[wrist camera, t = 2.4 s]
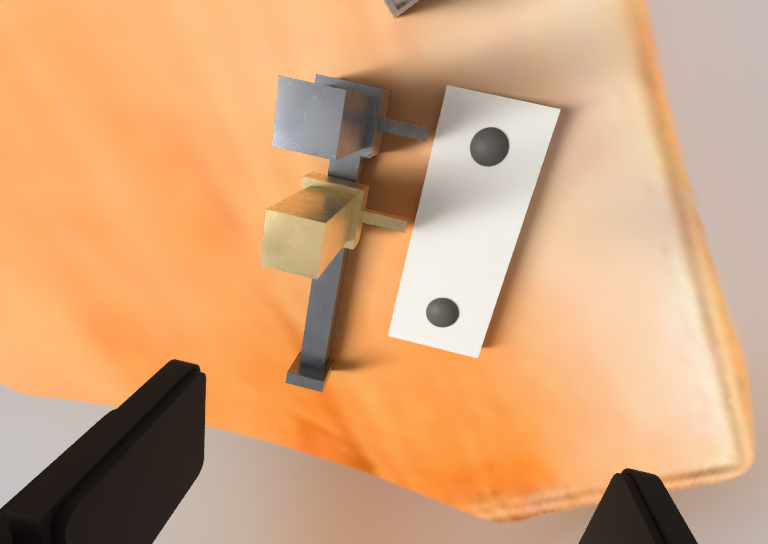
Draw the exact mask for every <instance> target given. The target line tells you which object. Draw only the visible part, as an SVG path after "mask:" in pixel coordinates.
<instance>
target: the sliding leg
mask: <svg viewBox="0 0 768 544" xmlns="http://www.w3.org/2000/svg"><path fill="white" fill-rule="evenodd" d="M369 186H370V185H366V184H361V183H357V182H353V181H348V180H344V179H340V178H335V177H331V176H326V175H322V174H318V173H313V172H312V173H310V174H307V175H305V176H303V181H302V188H301V191H299V192H297V193H295V194H294V195H292V196H290V197H288V198H286V199H284V200H282V201H280V202H279V203H277V204H275V205H273V206H271V207H269V208H267V209H266V215H265V225H264V235H263V245H262V256H261V266H264V267H268V268H272V269H276V270H280V271H284V272H288V273H292V274H296V275H300V276H304V277H309V278H313V279H318V278H319V276H320V275H321V274H322V273H323V271H324V270H325V269H326V267H327V266H328V265H329V264H330V262H331V261H332V260H333V258H334V257H335V256H336V255H337V253H338V252H339V251H340V250H341V248H342V247H344V248H349V249H354V248H355V247H356V245H357V244H358V242H359V239H360V234H361V229H362V223H366V224H370V225H375V226H379V227H383V228H387V229H392V230H396V231H400V232H405V229H406V225H407V221H408V218H404V217H400V216H396V215H392V214H387V213H383V212H379V211H374V210H370V209H366V202H367V197H368V192H369Z"/></svg>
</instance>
